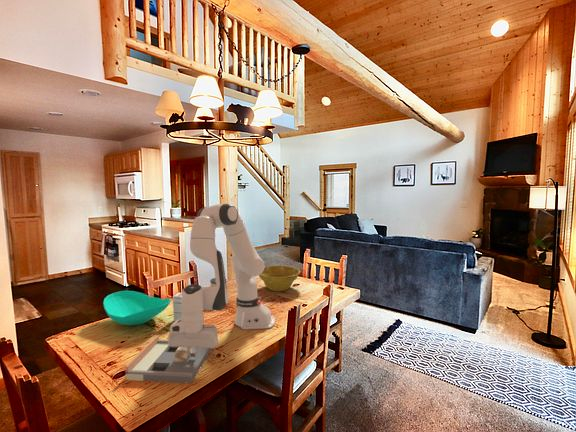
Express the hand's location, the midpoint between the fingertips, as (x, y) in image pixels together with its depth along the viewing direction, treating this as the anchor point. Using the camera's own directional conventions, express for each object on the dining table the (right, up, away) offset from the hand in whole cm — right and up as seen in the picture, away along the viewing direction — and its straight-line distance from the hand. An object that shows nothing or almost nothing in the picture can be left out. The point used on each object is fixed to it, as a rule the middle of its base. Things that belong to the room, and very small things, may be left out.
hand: (193, 356), depth 125 cm
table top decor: (-43, 0, +39) cm, 58 cm away
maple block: (-4, -1, 0) cm, 5 cm away
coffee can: (-6, +3, +71) cm, 71 cm away
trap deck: (-9, -4, +1) cm, 10 cm away
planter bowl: (+33, +5, +95) cm, 101 cm away
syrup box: (-21, 0, +43) cm, 48 cm away
